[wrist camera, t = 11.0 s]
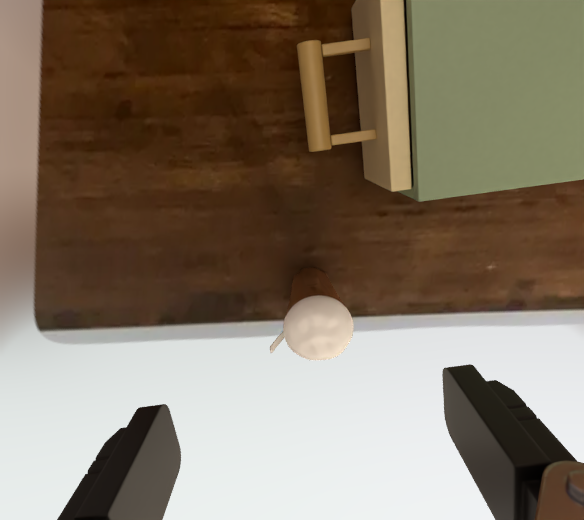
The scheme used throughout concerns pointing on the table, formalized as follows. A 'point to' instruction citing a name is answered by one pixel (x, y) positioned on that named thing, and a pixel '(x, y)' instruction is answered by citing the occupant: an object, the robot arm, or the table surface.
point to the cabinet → (495, 95)
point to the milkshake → (315, 318)
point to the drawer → (367, 91)
